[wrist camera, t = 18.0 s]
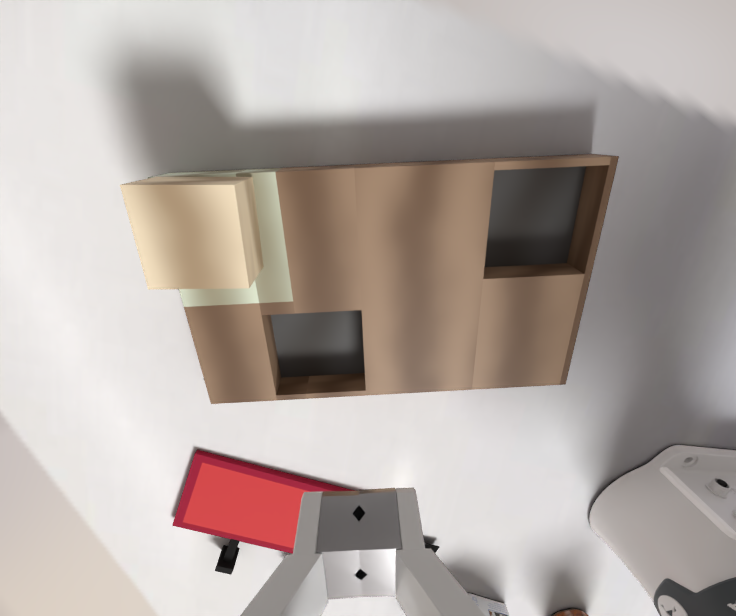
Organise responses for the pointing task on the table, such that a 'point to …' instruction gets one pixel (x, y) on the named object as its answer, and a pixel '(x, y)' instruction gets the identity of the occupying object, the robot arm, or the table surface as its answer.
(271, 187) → the board
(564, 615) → the sauce bottle
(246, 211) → the birch block
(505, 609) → the light bulb box
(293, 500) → the red board with handle
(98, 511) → the table surface
